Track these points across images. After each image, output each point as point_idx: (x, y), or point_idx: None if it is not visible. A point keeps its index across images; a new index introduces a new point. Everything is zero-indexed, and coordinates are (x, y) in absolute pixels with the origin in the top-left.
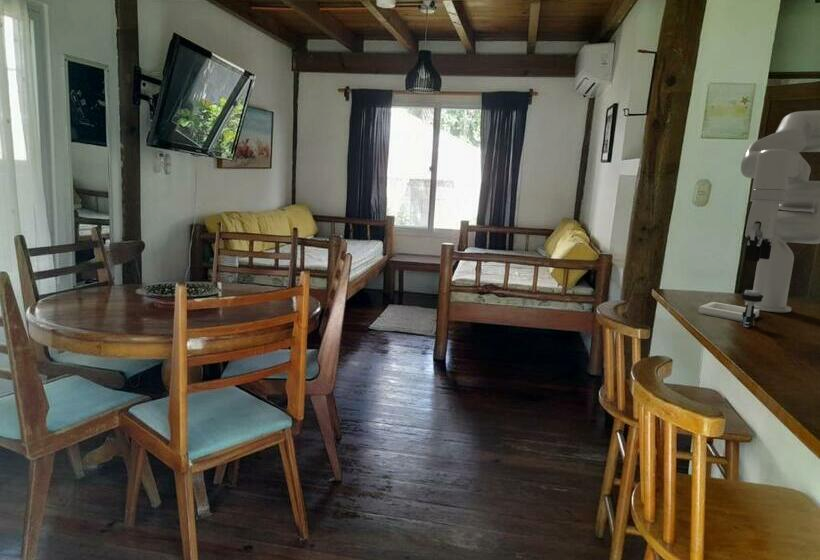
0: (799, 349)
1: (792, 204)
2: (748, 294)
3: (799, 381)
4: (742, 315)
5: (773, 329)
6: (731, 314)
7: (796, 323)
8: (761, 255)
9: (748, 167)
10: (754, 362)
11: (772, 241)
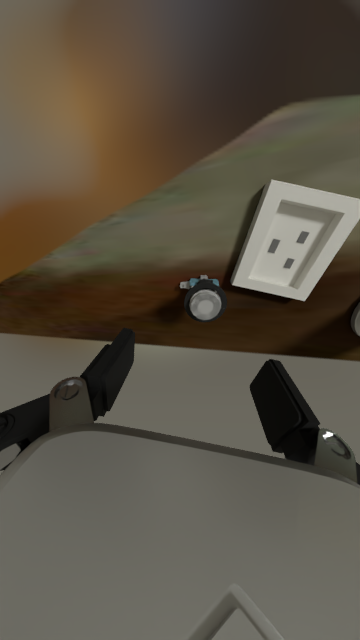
0: None
1: None
2: (192, 298)
3: (13, 327)
4: (201, 279)
5: None
6: (241, 258)
7: (270, 339)
8: (263, 381)
9: None
10: (25, 297)
11: None
